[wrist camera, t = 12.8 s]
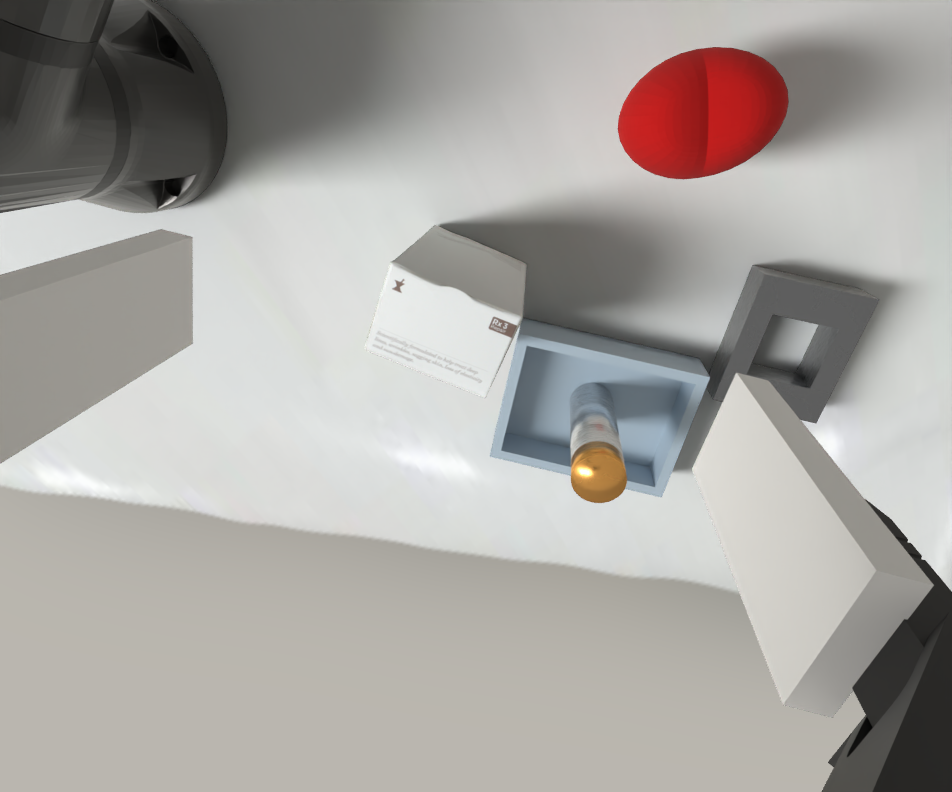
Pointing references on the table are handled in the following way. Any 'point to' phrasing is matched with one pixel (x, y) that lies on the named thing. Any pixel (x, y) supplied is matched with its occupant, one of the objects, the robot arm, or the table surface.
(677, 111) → the red heart shape
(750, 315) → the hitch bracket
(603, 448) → the copper top battery
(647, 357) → the tray
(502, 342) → the skincare box
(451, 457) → the table surface
